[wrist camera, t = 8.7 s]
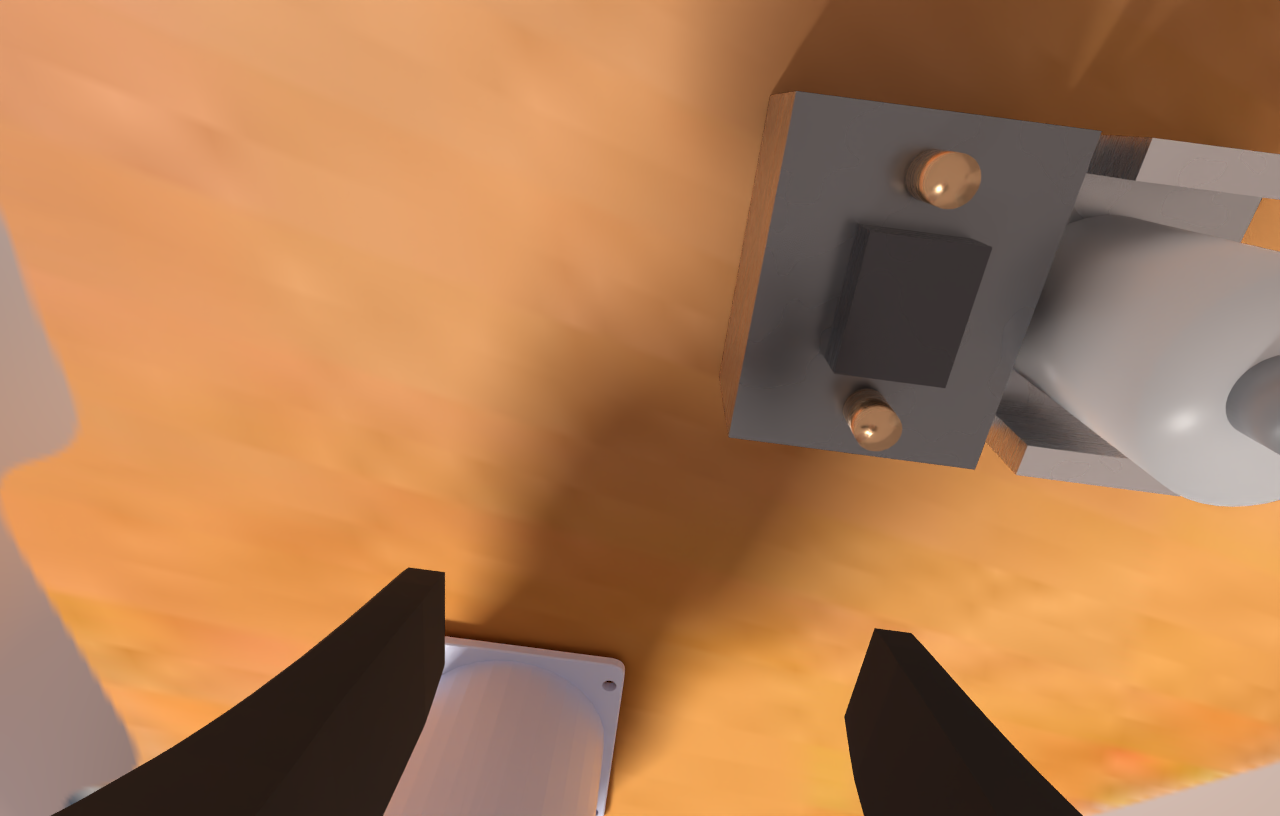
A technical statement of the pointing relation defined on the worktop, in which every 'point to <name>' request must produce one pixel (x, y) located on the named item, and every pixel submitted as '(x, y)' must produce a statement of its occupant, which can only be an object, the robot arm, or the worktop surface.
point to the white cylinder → (1166, 353)
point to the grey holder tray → (939, 276)
